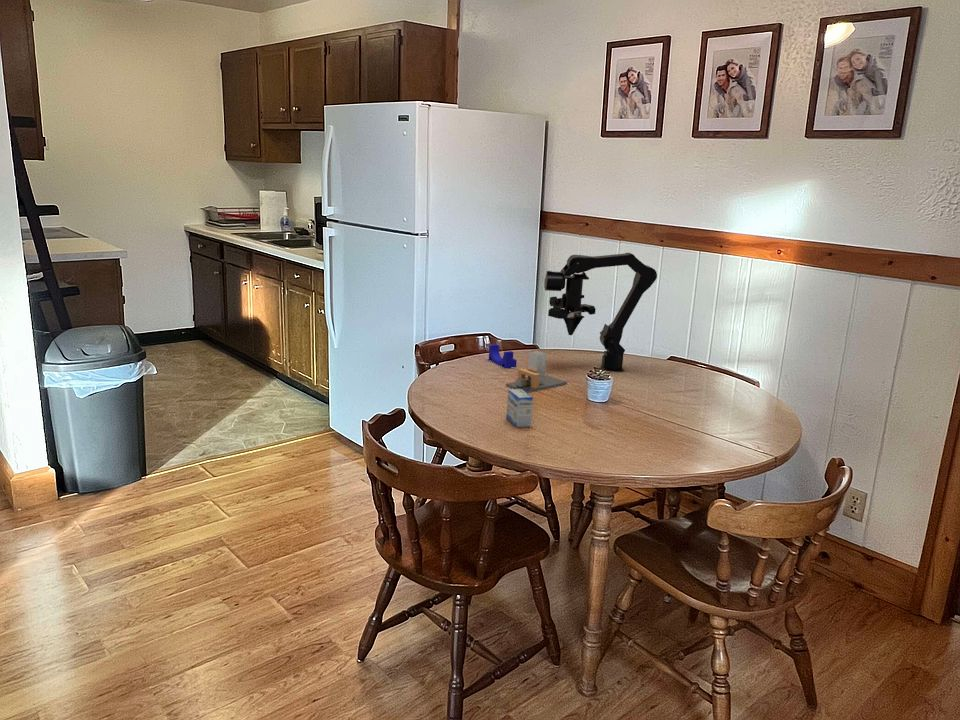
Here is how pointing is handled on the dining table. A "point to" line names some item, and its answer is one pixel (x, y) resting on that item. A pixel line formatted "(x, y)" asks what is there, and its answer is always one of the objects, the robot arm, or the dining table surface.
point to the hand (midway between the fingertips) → (570, 335)
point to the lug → (533, 375)
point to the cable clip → (496, 358)
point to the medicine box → (519, 408)
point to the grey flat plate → (548, 383)
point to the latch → (534, 368)
